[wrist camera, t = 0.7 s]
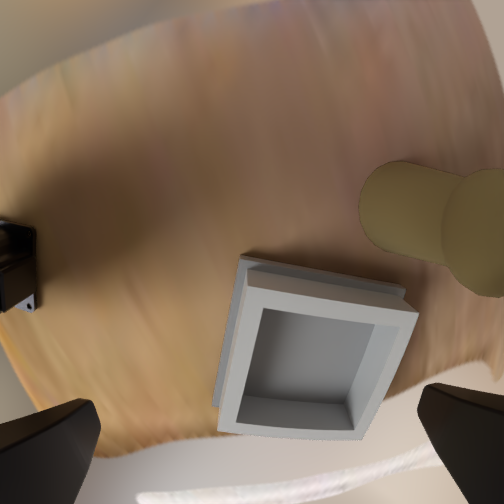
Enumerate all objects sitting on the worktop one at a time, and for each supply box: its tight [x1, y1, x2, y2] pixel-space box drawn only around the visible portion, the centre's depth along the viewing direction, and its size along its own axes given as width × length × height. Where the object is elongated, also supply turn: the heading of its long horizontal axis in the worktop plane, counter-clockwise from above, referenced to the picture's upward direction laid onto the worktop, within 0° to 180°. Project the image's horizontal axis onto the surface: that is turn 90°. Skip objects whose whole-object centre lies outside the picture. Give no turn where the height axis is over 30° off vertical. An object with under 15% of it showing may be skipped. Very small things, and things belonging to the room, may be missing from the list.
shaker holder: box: [212, 255, 419, 440], centre depth 19 cm, size 11×11×4 cm
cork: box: [359, 161, 504, 298], centre depth 14 cm, size 6×6×11 cm
